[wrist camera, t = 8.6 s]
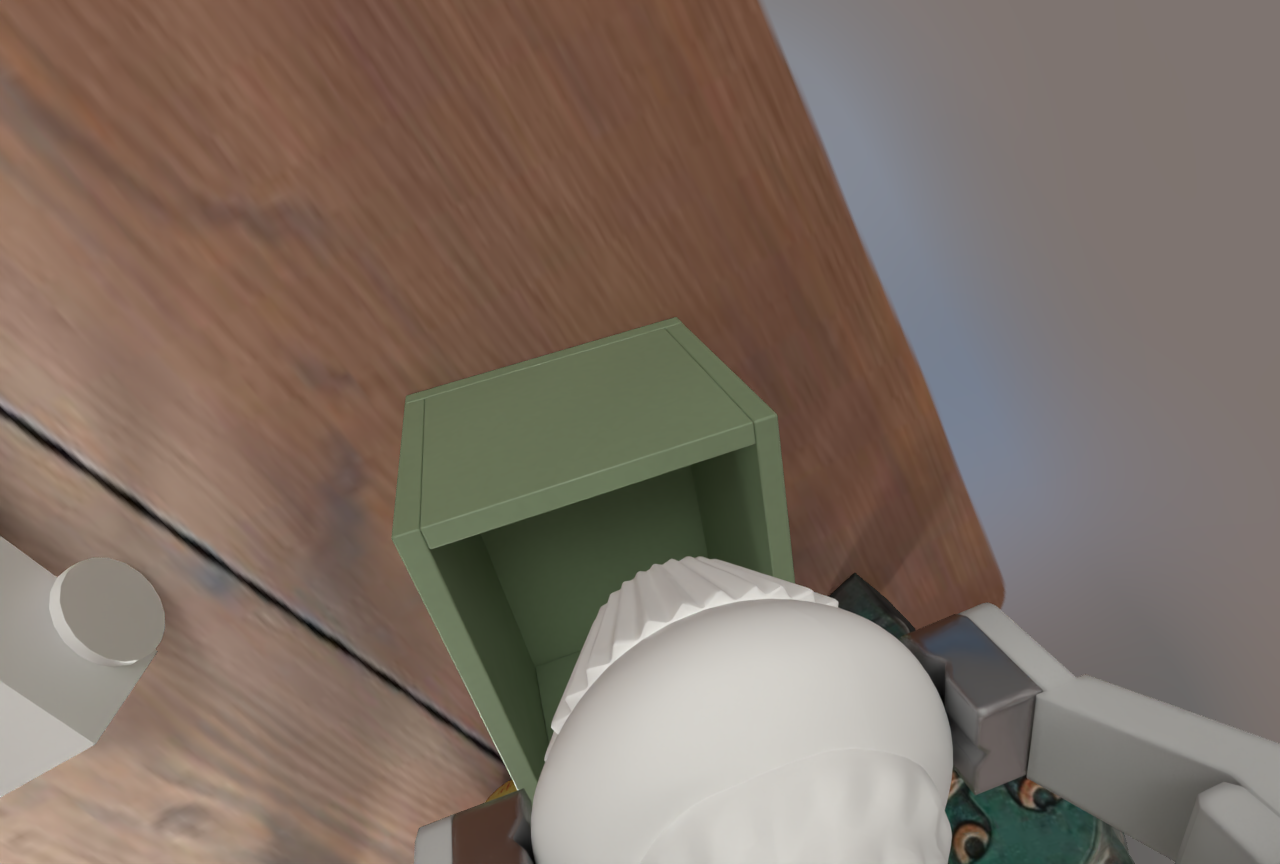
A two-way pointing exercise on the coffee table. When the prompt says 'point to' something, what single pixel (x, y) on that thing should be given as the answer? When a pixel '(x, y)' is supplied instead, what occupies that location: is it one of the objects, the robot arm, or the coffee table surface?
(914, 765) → the muffin
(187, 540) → the coffee table surface
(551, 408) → the chest
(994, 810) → the ceramic cat
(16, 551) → the white elongated piece
